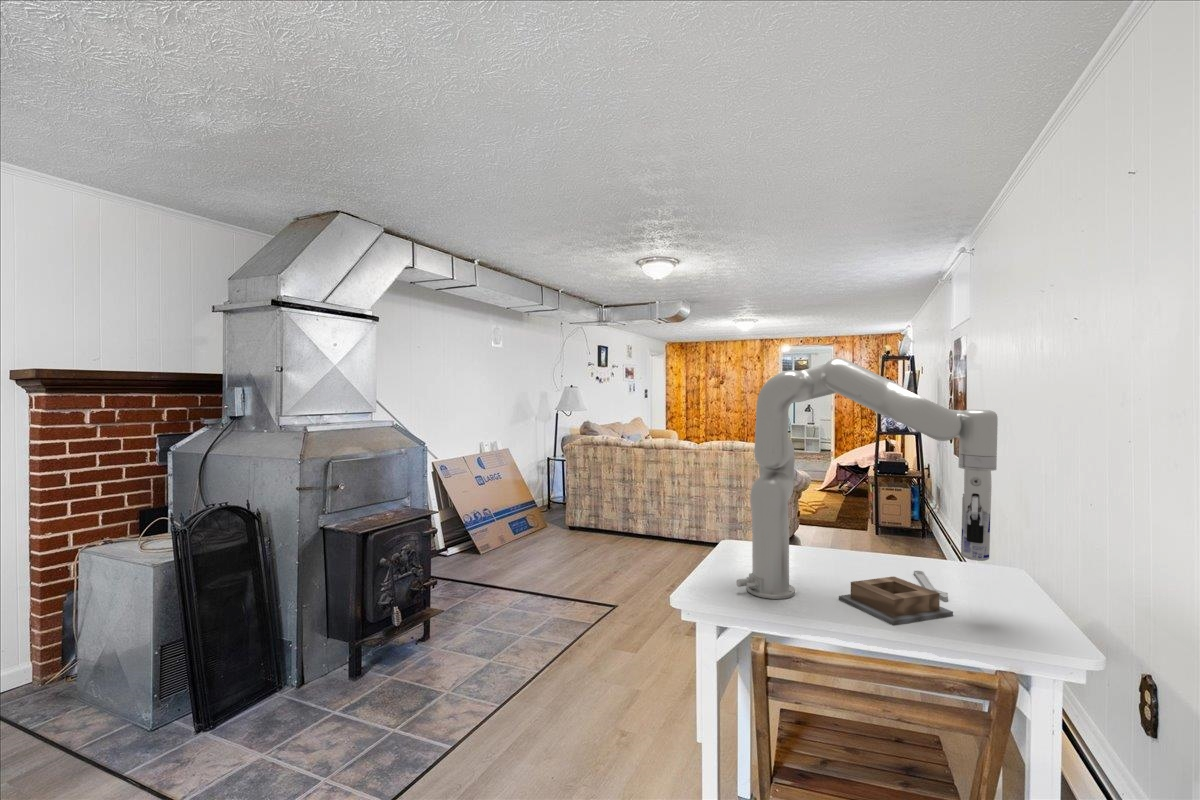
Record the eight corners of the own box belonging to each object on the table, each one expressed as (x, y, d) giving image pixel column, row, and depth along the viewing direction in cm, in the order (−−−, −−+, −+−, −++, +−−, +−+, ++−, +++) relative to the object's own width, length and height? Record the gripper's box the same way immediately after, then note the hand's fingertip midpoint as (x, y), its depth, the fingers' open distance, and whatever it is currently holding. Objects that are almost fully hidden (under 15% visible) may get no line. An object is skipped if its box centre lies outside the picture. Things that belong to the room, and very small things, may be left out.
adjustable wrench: (912, 575, 175) (912, 569, 175) (937, 577, 172) (937, 571, 172) (921, 602, 152) (921, 595, 152) (950, 605, 149) (950, 598, 149)
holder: (893, 625, 136) (893, 603, 136) (838, 599, 153) (838, 580, 153) (953, 615, 141) (953, 594, 141) (894, 592, 159) (894, 573, 159)
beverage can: (995, 561, 136) (996, 496, 136) (972, 561, 136) (973, 496, 135) (977, 554, 142) (979, 492, 141) (955, 555, 141) (957, 492, 141)
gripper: (995, 467, 129) (993, 550, 129) (997, 460, 143) (995, 535, 144) (955, 464, 133) (953, 544, 134) (961, 458, 147) (959, 530, 148)
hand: (975, 538), depth 139 cm, fingers closed on beverage can, 5 cm apart
